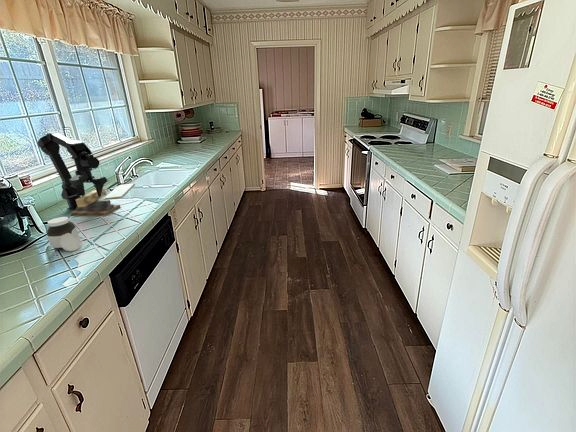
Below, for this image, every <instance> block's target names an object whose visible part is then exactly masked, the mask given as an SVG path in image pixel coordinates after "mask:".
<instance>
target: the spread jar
mask: <svg viewBox="0 0 576 432" xmlns="http://www.w3.org/2000/svg"><path fill="white" fill-rule="evenodd" d="M47 224H48V228H47V230H46V237H47V241H48V243H49V245H50V247H51V248H52V249H54V250H57V251H67V252H73V251H76V250H78V249H80V247H81V244H82V240H81V237H80V234H79V231H78V229H77V226H76V225H75V223H73V222H71V221H70V219H69V216H60V217H54V218H52V219H50V220H48V221H47Z"/></svg>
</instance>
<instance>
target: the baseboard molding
mask: <svg viewBox="0 0 576 432" xmlns="http://www.w3.org/2000/svg"><path fill="white" fill-rule="evenodd" d="M119 184H120V185H119ZM135 185H136V183H135V182H133V181H132V182H130V183H126V181H125V182H123V183H118V184H117V186H116V187H115V188H114V189H113V190H112V191H111V192H109V193H108V194H106V195H105V196H104V197H103V198H102V200H113V199H122V198H123V197H124V196H125V195H126V194H127V193H128V192H129V191H130V190H131V189H132V188H133V187H134V186H135Z"/></svg>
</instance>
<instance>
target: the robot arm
mask: <svg viewBox="0 0 576 432" xmlns="http://www.w3.org/2000/svg"><path fill="white" fill-rule="evenodd" d="M60 146H61V147H63V148H65V149H66V151H67V152H68V153H69V154H70V155H71V159H72V160H74V165H75V168H76V170H75V171H74V173H75V175H71V172H70V170H69V169H68V167H67V166H66V163H65V162H64V161H65V160H64V159H63V158H62V155H61V154H60V150H61V149H60V148H61V147H60ZM37 147H39V149H40V150H41V151H42V153H44V154H45V155H47V156H48V157H49V159H50V161H51V162H52V165H53V166H54V168H55V170H56V172H57V174H58V176H59V177H60V179H61V181H62V182H61V189H62V192H61V194H60V196H61V198H62V200H66V202H67V205H68V207H67V208H66V209H67V210H77V209H76V208H77V207H78V206H77V203H76V199H78V198H80V197H82V196H84V195H86V192H85V191H86V189H85V184H88V183H89V184H90V183H91V184H93V185H92V186H93V187H94V188H95V190H96V191H97V194H98V196H99V197H101V193H102V189H103V188H104V185H105V184H106V183H107V182H108V178H107V177H105V176H97V177H95V175H93V173H92V171H93V170H94V169H97V168H99V166H100V160H99V159H98V158H97V157H95V156H94V154H93V152H92V150H91V149H90V148H89V147H88V145H86V143H85V142H84V141H81V140H73V139H70V138H69V137H67V136H65V135H63V134H61V133H60V132H58V131H51V132H47V133H46V134H45V135H44V136H41V137H40V138H39V140H38V141H37ZM84 183H85V184H84Z"/></svg>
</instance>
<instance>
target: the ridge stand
mask: <svg viewBox="0 0 576 432" xmlns="http://www.w3.org/2000/svg"><path fill="white" fill-rule="evenodd" d="M120 208H121V205H120V204H113V203H111V199H105V200H103V199H98V200H96V201H94V202H93V203H91V204H89V205H87V206H86V207H77V208H76V209H74V210H72V211H71V212H70V213H69V214H70V216H108V215H109V214H111V213H113V212H115V211H116V210H119V209H120Z"/></svg>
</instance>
